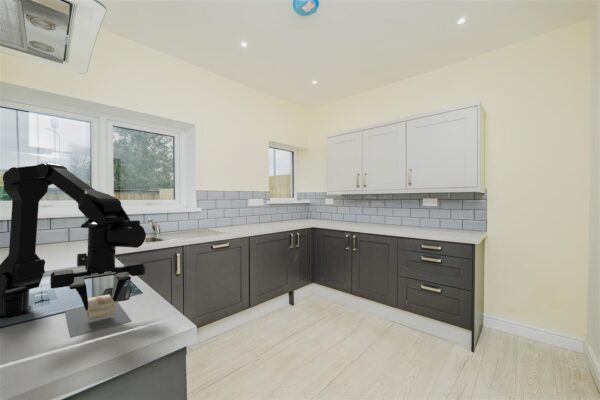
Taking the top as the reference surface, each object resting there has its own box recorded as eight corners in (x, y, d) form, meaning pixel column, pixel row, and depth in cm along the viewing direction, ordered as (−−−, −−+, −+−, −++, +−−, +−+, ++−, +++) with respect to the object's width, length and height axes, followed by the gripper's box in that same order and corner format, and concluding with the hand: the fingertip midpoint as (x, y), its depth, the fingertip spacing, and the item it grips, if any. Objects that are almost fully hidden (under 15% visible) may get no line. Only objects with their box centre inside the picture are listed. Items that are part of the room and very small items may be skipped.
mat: (64, 312, 73) (64, 310, 73) (116, 301, 81) (116, 299, 81) (69, 339, 59) (69, 337, 59) (131, 323, 67) (131, 321, 67)
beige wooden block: (114, 314, 65) (115, 302, 66) (89, 320, 62) (89, 307, 62) (109, 305, 71) (109, 293, 71) (85, 310, 68) (85, 298, 68)
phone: (131, 285, 95) (128, 298, 82) (131, 288, 95) (128, 302, 82) (105, 288, 91) (97, 303, 78) (104, 291, 91) (97, 307, 78)
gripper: (135, 239, 79) (134, 290, 79) (51, 245, 66) (48, 307, 66) (146, 243, 71) (144, 301, 71) (52, 251, 58) (49, 322, 58)
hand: (100, 306), depth 67 cm, fingers closed on beige wooden block, 5 cm apart
